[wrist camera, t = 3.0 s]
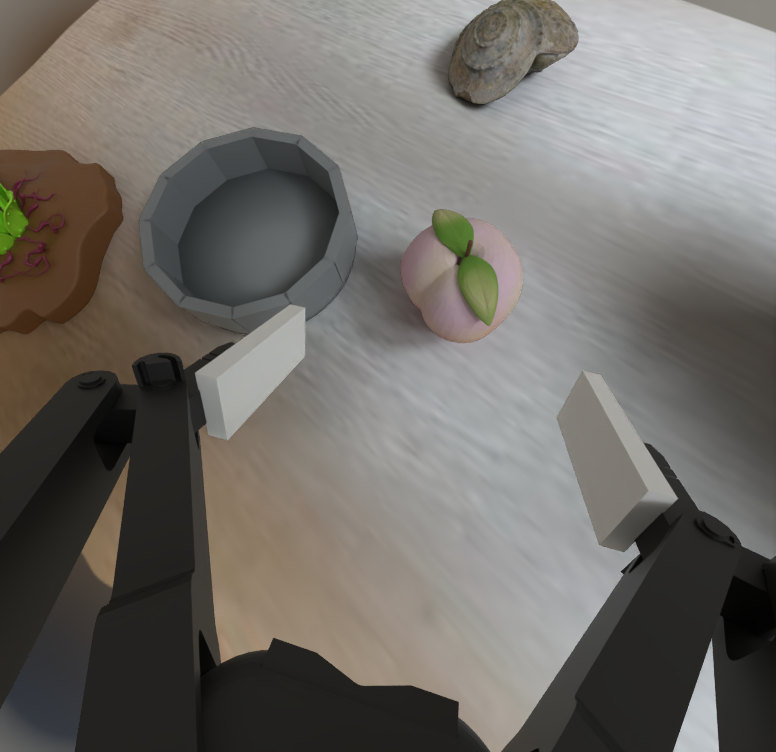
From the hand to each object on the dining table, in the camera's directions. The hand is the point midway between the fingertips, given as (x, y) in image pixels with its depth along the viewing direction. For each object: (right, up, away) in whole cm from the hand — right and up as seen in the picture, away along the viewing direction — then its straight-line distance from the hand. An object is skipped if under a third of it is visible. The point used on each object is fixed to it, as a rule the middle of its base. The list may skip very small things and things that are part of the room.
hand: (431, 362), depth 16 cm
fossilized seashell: (+10, +31, +20) cm, 38 cm away
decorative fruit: (+4, +6, +14) cm, 16 cm away
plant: (-40, +13, +19) cm, 46 cm away
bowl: (-14, +12, +17) cm, 25 cm away
